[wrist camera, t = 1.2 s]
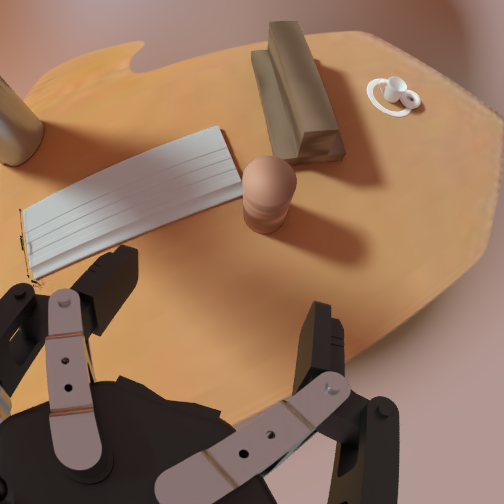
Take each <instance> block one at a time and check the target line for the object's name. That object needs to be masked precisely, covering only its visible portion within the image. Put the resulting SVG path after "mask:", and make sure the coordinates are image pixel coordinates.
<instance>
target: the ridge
mask: <svg viewBox="0 0 504 504" xmlns="http://www.w3.org/2000/svg"><path fill="white" fill-rule="evenodd" d="M251 61H252V65H253V69H254V73H255V77H256V81H257V85H258V90H259V94H260V98H261V102H262V107H263V111H264V116H265V120H266V124H267V129H268V133H269V138H270V143H271V147H272V152H273V156H274V157H278V158H280V159H283V160H284V161H286V162H287V163H288V164H289V165H299V164H308V163H318V162H329V161H341V160H342V159H343V158H344V156H345V154H346V152H345V149H344V146H343V142H342V139H341V136H340V133H339V127H338V124H337V121H336V118H335V115H334V112H333V110H332V107H331V104H330V101H329V98H328V95H327V93H326V90H325V87H324V85H323V82H322V79H321V77H320V74H319V72H318V69H317V67H316V64H315V62H314V59H313V57H312V54H311V52H310V49H309V47H308V45H307V42H306V40H305V37H304V35H303V33H302V31H301V28H300V26H299V24H298V22H297V21H278V22H277V21H276V22H270V23H269V38H268V50H259V51H251Z"/></svg>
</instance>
